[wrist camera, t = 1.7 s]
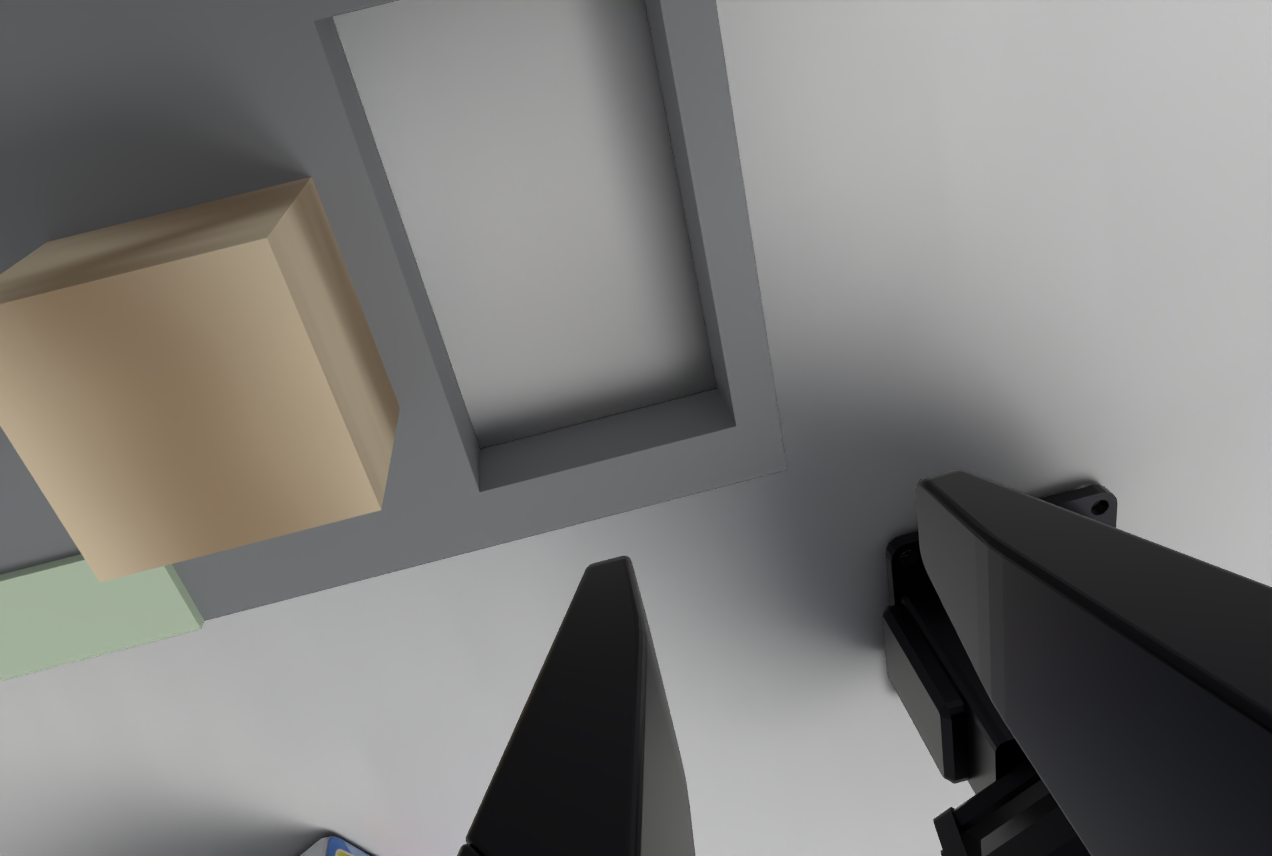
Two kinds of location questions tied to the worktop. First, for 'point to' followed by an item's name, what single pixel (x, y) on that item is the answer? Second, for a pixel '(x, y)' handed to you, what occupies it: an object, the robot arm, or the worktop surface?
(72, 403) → the maple block
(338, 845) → the ink cartridge box
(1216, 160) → the worktop surface
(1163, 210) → the worktop surface
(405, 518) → the trap deck
